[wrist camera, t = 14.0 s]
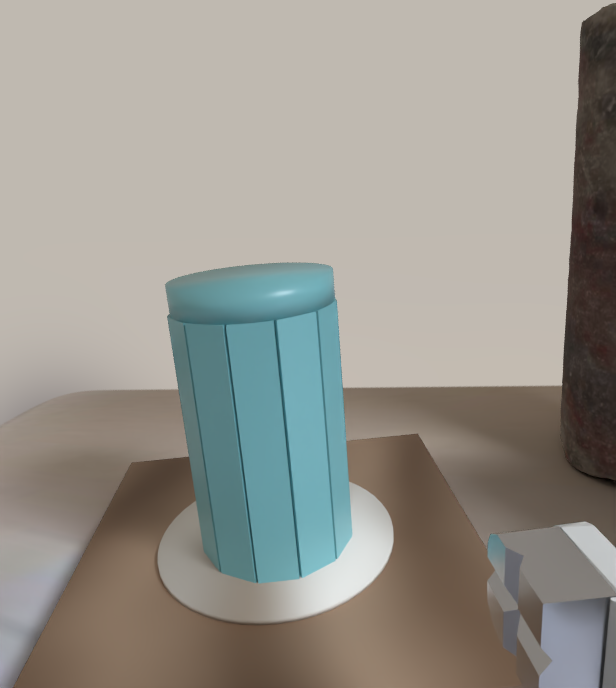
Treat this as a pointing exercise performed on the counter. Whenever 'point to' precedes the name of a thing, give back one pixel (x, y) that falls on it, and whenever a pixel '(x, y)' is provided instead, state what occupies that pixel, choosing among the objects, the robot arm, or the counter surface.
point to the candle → (593, 261)
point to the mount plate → (281, 594)
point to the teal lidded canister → (263, 416)
